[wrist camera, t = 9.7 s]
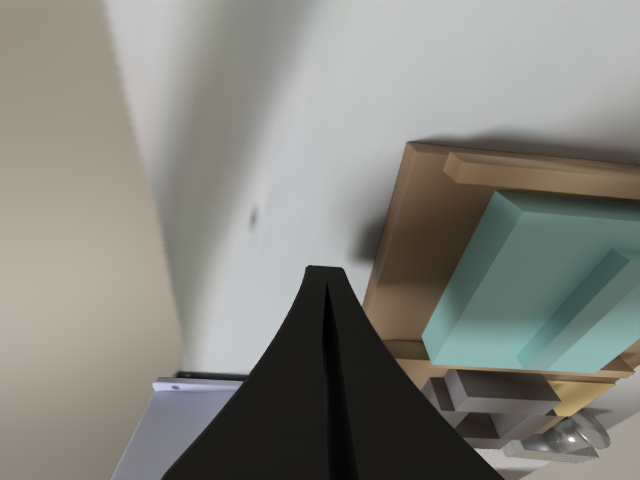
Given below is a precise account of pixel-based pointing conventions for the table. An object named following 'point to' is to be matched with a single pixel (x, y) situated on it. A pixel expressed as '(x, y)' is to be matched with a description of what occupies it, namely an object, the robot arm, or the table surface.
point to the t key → (563, 441)
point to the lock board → (440, 263)
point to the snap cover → (542, 287)
